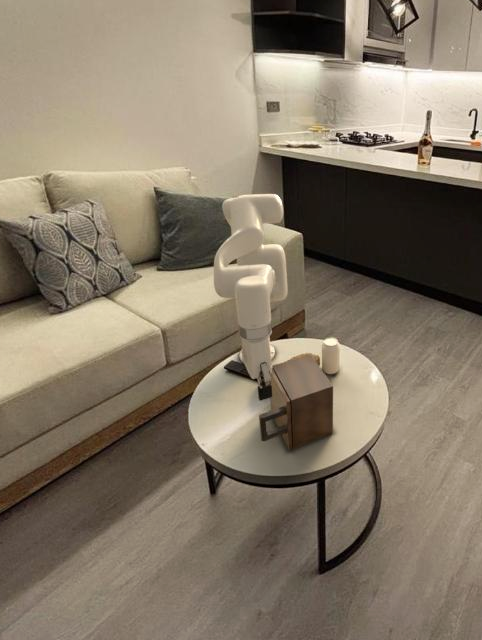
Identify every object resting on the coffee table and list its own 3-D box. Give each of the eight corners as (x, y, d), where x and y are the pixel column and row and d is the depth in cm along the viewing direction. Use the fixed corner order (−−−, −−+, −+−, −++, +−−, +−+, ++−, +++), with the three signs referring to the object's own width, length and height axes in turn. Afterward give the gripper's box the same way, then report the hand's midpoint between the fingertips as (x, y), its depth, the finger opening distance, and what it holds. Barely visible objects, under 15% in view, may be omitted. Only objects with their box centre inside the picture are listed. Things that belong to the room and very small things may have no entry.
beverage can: (336, 363, 147) (336, 334, 143) (341, 373, 142) (342, 344, 137) (319, 366, 145) (319, 338, 140) (324, 377, 140) (324, 348, 135)
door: (264, 460, 108) (260, 411, 101) (248, 419, 121) (244, 374, 114) (292, 448, 112) (290, 401, 105) (274, 410, 124) (271, 366, 118)
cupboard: (293, 449, 112) (291, 400, 105) (275, 411, 124) (272, 365, 118) (332, 433, 117) (333, 386, 111) (311, 398, 130) (310, 354, 124)
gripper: (230, 314, 101) (236, 371, 107) (248, 351, 87) (254, 413, 93) (260, 308, 104) (264, 363, 111) (282, 342, 91) (285, 403, 97)
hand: (259, 386), depth 102 cm, fingers open, 9 cm apart
